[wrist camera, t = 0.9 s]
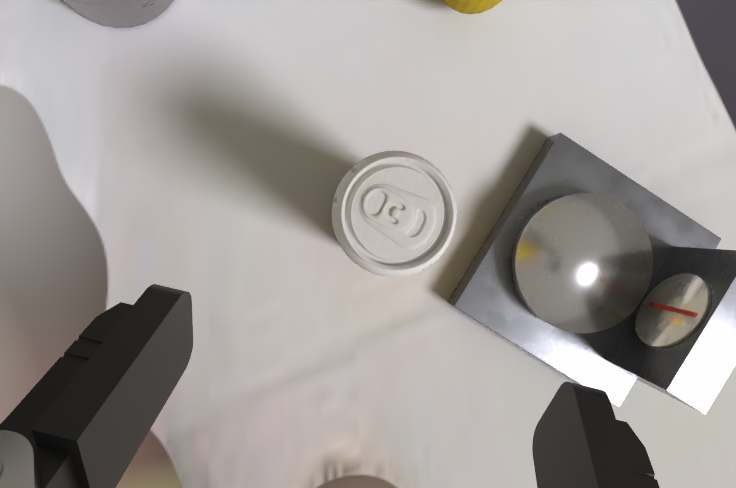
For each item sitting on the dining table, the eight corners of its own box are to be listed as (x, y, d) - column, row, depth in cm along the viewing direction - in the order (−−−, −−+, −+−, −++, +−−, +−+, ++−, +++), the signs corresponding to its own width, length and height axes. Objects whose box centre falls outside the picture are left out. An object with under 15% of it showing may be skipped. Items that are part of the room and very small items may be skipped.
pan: (486, 286, 36) (490, 287, 35) (558, 167, 36) (564, 166, 35) (598, 355, 37) (606, 359, 36) (669, 239, 37) (678, 240, 36)
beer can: (388, 271, 38) (426, 302, 23) (317, 235, 37) (308, 242, 23) (424, 200, 38) (485, 185, 23) (353, 163, 37) (369, 123, 23)
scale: (447, 302, 38) (483, 326, 29) (548, 137, 38) (614, 111, 30) (604, 397, 40) (684, 448, 31) (701, 238, 40) (810, 242, 31)
